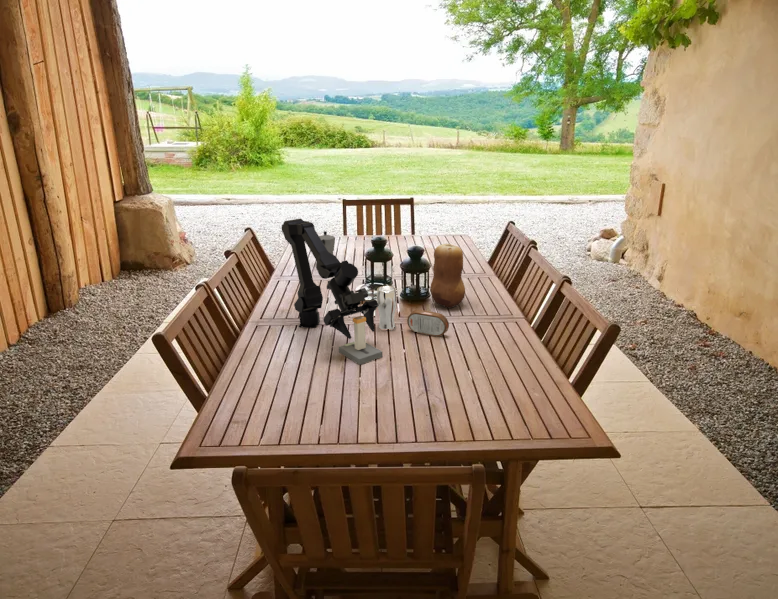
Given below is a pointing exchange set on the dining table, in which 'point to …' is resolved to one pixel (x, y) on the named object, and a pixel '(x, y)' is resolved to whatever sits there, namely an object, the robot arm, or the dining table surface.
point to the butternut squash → (447, 276)
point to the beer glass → (386, 306)
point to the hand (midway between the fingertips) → (362, 334)
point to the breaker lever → (359, 332)
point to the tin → (428, 322)
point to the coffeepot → (328, 242)
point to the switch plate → (360, 353)
